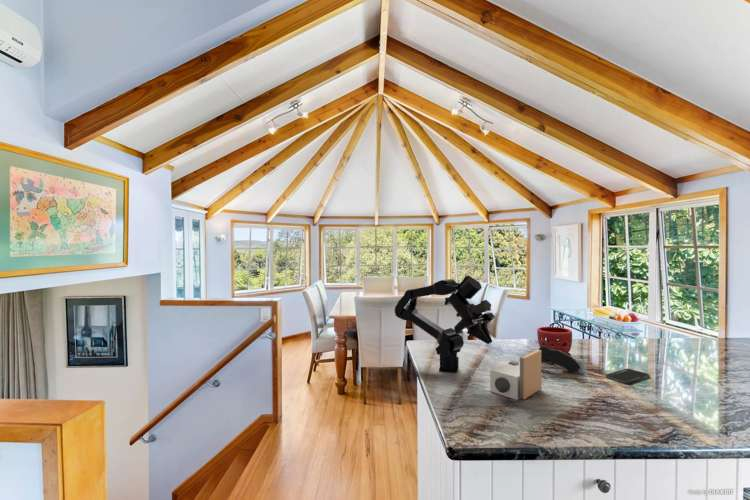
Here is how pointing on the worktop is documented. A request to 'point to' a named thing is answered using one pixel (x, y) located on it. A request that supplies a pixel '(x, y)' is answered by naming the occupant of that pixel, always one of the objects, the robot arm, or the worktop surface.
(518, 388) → the white box
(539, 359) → the tan flat square panel
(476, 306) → the robot arm
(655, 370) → the worktop surface
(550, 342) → the plant pot
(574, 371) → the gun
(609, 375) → the phone
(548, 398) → the worktop surface
